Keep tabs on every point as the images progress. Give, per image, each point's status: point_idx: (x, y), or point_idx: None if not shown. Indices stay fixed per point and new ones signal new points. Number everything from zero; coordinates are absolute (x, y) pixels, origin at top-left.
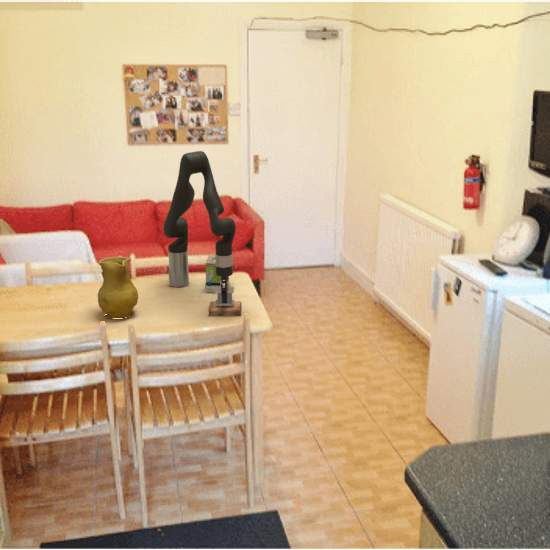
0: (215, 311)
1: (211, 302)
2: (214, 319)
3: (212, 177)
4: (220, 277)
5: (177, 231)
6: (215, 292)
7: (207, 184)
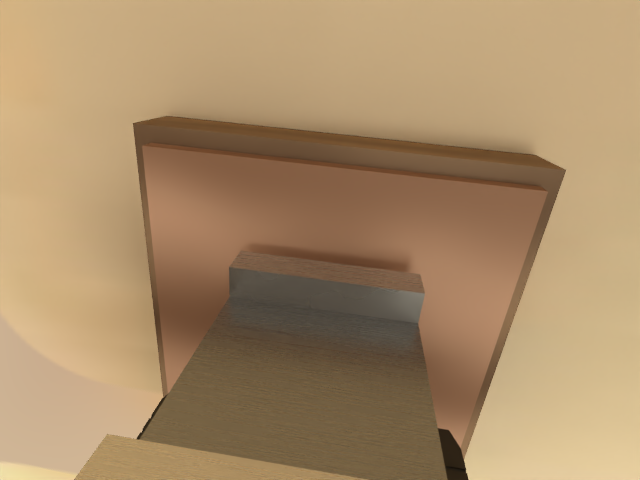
0: (154, 222)
1: (489, 193)
2: (77, 183)
3: None
4: None
5: None
6: (97, 456)
7: None
